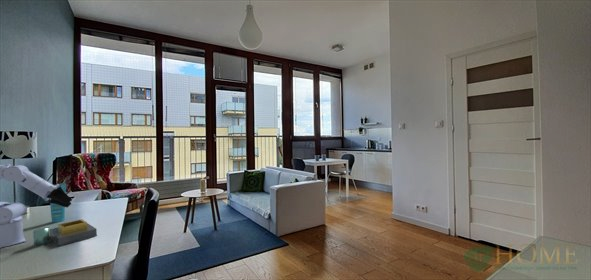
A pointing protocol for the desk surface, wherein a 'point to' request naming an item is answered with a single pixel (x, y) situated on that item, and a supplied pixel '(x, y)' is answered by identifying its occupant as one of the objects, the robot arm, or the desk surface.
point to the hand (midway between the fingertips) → (69, 203)
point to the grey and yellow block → (72, 232)
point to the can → (41, 236)
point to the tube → (58, 209)
